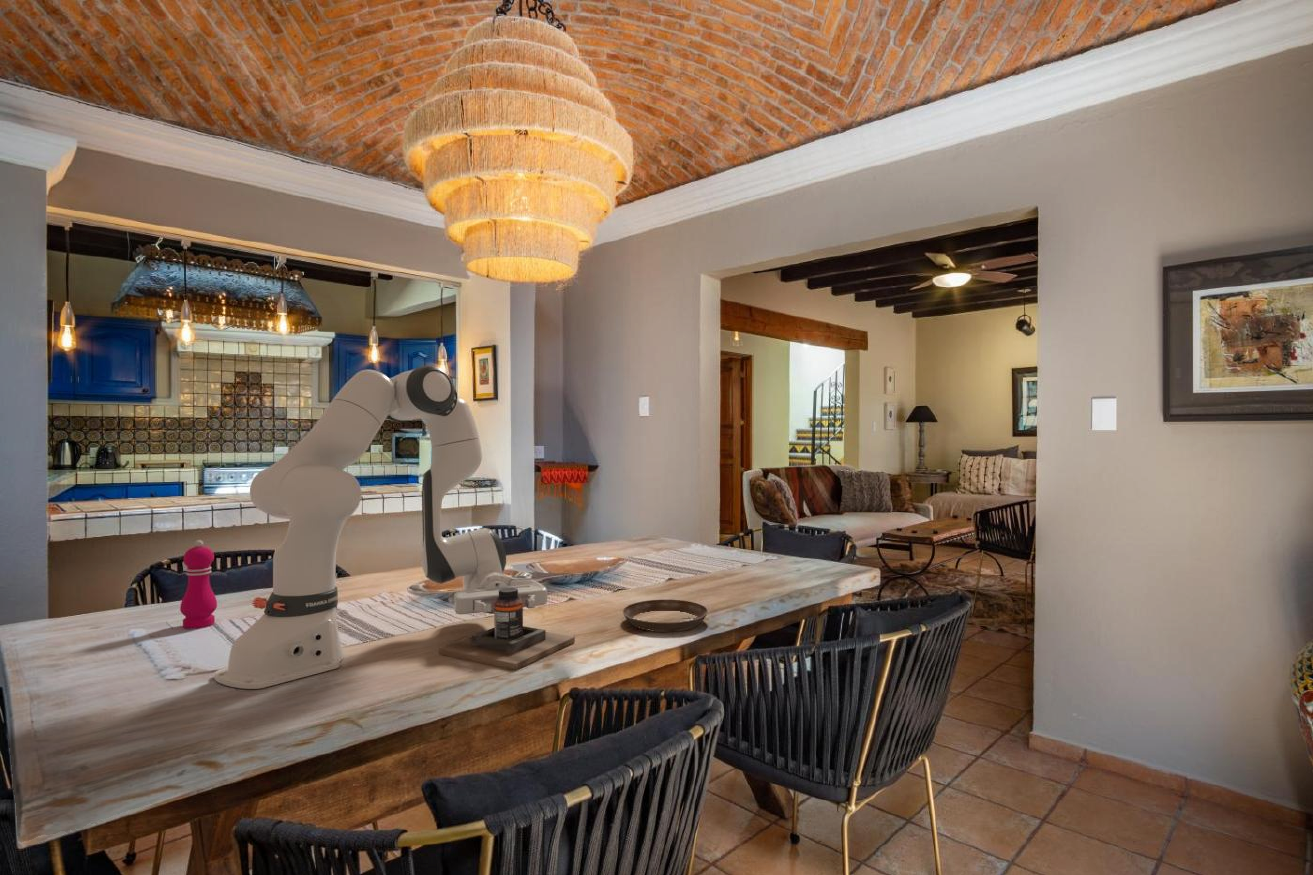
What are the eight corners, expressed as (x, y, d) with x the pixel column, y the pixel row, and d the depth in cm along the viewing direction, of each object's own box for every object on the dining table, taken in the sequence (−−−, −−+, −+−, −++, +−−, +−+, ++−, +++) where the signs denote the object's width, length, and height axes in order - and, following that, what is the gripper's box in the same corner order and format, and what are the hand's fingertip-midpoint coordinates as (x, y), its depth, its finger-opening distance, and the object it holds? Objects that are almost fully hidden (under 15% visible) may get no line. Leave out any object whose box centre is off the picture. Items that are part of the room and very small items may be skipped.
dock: (516, 670, 134) (516, 653, 134) (438, 654, 143) (438, 638, 143) (574, 642, 151) (574, 627, 151) (502, 629, 161) (502, 616, 161)
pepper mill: (224, 621, 166) (224, 538, 166) (201, 630, 159) (201, 542, 159) (196, 620, 167) (196, 537, 167) (172, 628, 160) (172, 542, 160)
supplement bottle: (508, 636, 151) (508, 584, 151) (528, 640, 148) (528, 588, 148) (488, 643, 146) (488, 590, 146) (509, 648, 143) (509, 593, 143)
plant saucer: (655, 641, 154) (655, 626, 154) (606, 620, 170) (606, 606, 170) (725, 626, 166) (725, 612, 166) (673, 608, 183) (673, 595, 183)
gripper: (446, 583, 154) (460, 596, 142) (536, 575, 163) (555, 587, 151) (446, 611, 154) (459, 627, 142) (535, 602, 163) (555, 616, 151)
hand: (510, 606), depth 146 cm, fingers open, 8 cm apart
